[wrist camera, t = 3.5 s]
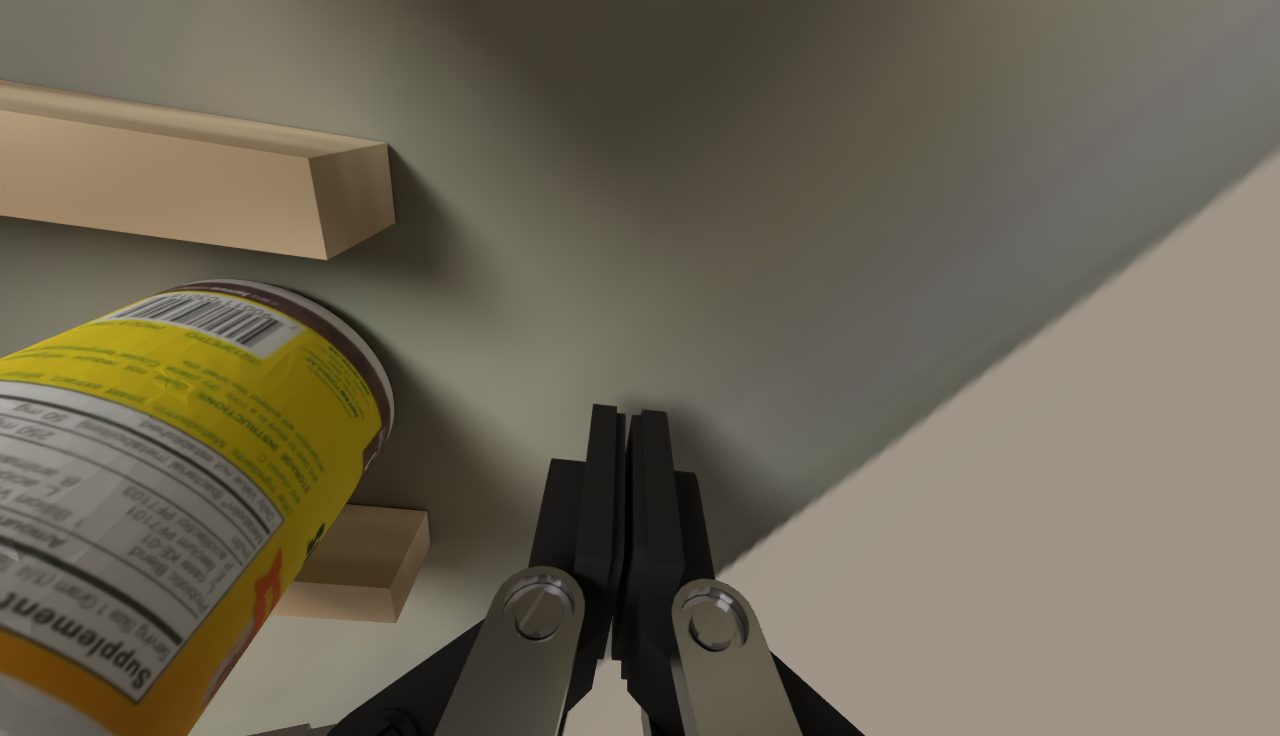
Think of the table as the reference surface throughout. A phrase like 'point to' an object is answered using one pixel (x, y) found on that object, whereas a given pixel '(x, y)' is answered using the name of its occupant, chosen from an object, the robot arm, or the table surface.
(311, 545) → the supplement bottle
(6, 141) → the channel
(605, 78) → the table surface
